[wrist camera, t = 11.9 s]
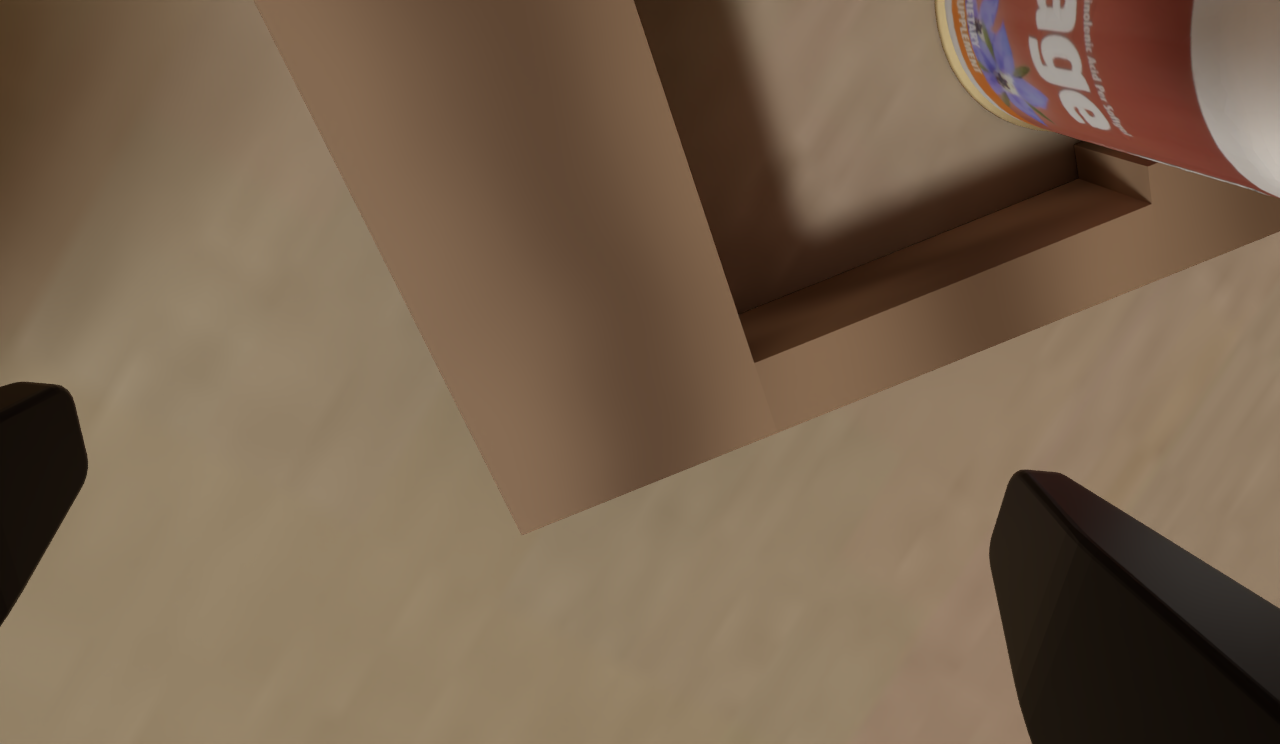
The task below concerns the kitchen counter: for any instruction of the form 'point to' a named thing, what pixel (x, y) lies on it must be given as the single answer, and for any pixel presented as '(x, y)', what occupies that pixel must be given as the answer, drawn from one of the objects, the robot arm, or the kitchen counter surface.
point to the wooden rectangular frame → (666, 245)
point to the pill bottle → (1137, 77)
